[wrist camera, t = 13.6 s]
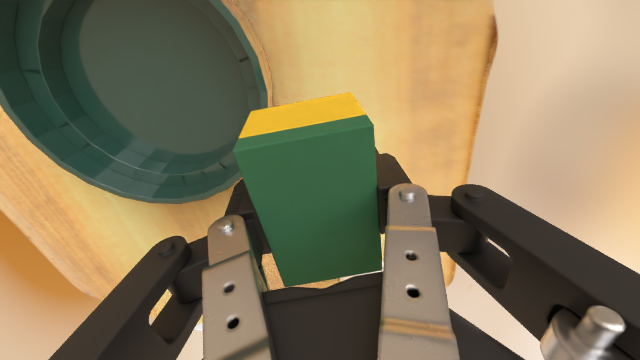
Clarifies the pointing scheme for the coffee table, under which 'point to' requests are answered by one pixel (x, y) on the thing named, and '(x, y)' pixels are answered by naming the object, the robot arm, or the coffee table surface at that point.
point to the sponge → (314, 187)
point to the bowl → (134, 90)
